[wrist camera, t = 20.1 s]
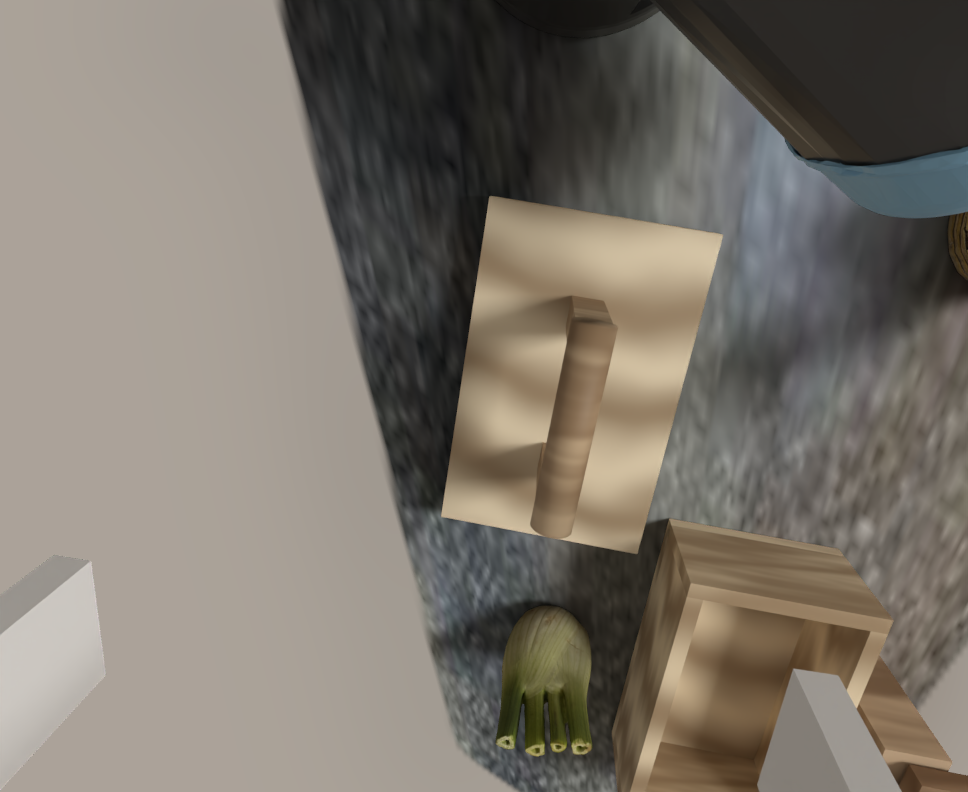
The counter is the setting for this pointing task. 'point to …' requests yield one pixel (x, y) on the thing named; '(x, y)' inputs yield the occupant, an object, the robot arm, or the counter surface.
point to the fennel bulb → (546, 682)
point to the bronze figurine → (959, 242)
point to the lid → (574, 370)
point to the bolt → (932, 780)
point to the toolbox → (750, 661)
